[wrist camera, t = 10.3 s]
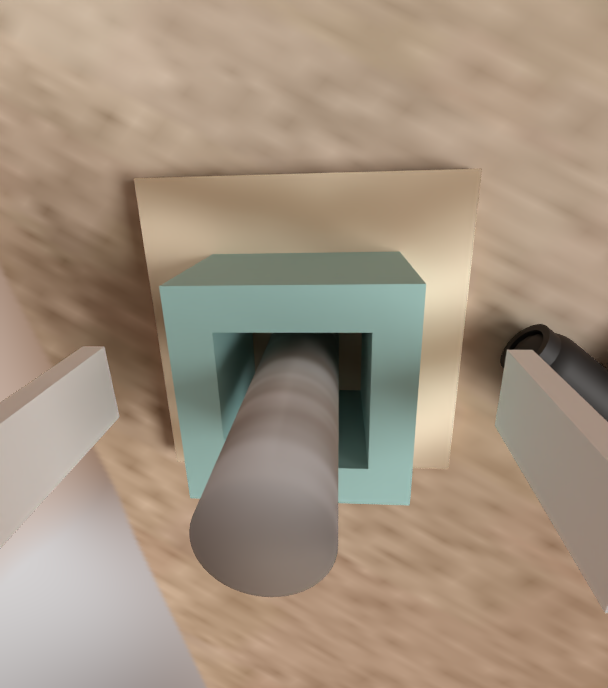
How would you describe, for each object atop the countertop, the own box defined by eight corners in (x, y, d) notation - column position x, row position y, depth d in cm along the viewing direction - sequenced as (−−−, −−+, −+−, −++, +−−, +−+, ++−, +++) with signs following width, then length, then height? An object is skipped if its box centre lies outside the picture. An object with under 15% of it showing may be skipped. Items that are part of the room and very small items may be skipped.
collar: (212, 254, 19) (158, 285, 13) (399, 251, 18) (426, 283, 13) (228, 415, 22) (190, 498, 16) (391, 418, 21) (409, 505, 15)
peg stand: (145, 178, 19) (-207, 177, 7) (473, 169, 18) (763, 148, 6) (184, 448, 24) (22, 731, 12) (443, 454, 23) (562, 775, 11)
